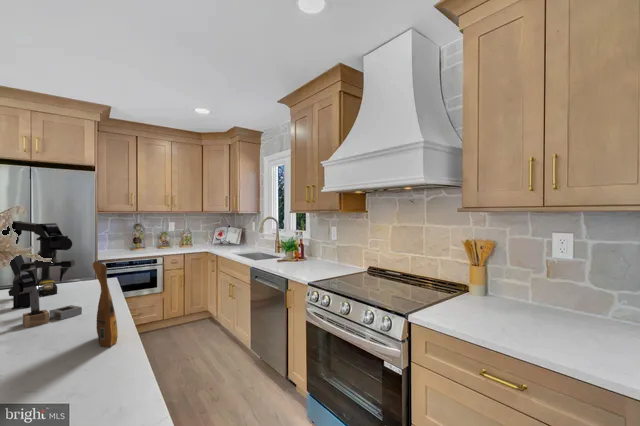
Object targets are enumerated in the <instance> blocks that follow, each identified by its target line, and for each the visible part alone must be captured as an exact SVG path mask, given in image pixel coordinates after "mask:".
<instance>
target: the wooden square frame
mask: <svg viewBox="0 0 640 426" xmlns="http://www.w3.org/2000/svg"><path fill="white" fill-rule="evenodd" d="M49 323H50V317H49V311H48V310H47V309H40V314H37V315H32V316H31V311H30V312H25V313H22V325H23V326H24V328H31V327H35V326H40V325H41V326H42V325H43V324H49Z"/></svg>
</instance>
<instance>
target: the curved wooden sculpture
mask: <svg viewBox="0 0 640 426" xmlns="http://www.w3.org/2000/svg"><path fill="white" fill-rule="evenodd" d="M92 269H93V271H94V272H95V274H96V278H97V280H98V282H99V286H100V296H99V300H98V306H97V311H96V312H97V313H96V333H97V338H98V341H99V345H100V347H102V348H111V347H112V346H113V345H115V344H117V341H118V337H119V332H118V324H117V323H118V322H117V317H116V312H115V311H116V310H115V307H114V302H113V299H112V294H111V291H110V287H109V283H108V275H107V273H108V271H107V270H108V266H107V265H105V264H104V263H102V262H99V261H98V260H95V261H93V262H92Z"/></svg>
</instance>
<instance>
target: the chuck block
mask: <svg viewBox="0 0 640 426" xmlns="http://www.w3.org/2000/svg"><path fill="white" fill-rule="evenodd" d="M82 311H83V310H82V306H76V305H71V304H70V305H66V306H62V307H57V308H54V309H50V310H49V311H48V312H49V319H50V318H51V319H55V320H58V321H59V320H60V321H62V320H65V319H69V318H73V317H76V316H79V315H83V314H82V313H83V312H82Z"/></svg>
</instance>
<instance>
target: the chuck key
mask: <svg viewBox="0 0 640 426" xmlns="http://www.w3.org/2000/svg"><path fill="white" fill-rule="evenodd" d="M43 289H44V285H41V286H32V287H29V288H24V293H26V292H30V304H31V307H30V312H31V316H32V315H37V314H40V310H41V309H40V296H39V290H43Z"/></svg>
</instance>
